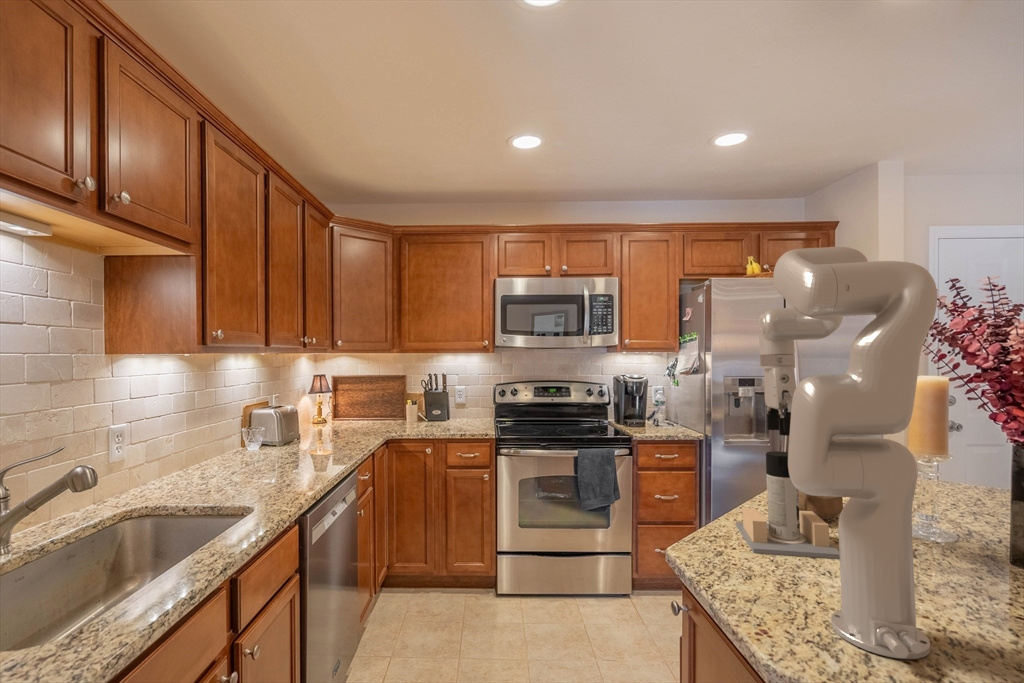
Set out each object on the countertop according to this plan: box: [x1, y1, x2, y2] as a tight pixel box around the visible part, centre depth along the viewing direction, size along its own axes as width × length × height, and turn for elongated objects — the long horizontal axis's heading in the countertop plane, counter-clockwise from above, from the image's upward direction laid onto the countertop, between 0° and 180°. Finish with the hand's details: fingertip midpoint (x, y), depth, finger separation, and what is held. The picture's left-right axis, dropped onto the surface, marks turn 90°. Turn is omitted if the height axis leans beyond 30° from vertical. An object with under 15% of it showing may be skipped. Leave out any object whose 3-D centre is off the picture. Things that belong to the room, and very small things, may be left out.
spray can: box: [765, 451, 800, 541], centre depth 116 cm, size 7×7×20 cm
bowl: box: [798, 490, 844, 521], centre depth 131 cm, size 18×14×10 cm
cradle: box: [735, 507, 840, 560], centre depth 116 cm, size 18×18×6 cm
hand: (780, 432), depth 116 cm, fingers open, 9 cm apart
